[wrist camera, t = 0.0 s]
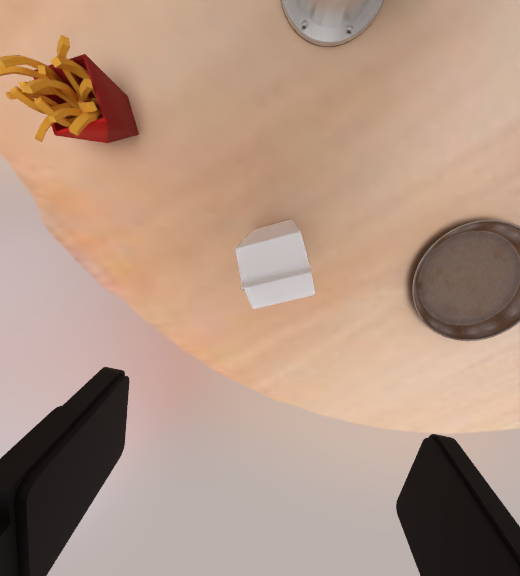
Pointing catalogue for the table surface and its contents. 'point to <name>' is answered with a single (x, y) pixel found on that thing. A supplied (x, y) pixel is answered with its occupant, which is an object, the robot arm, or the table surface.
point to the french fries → (72, 97)
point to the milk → (274, 265)
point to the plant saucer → (471, 281)
